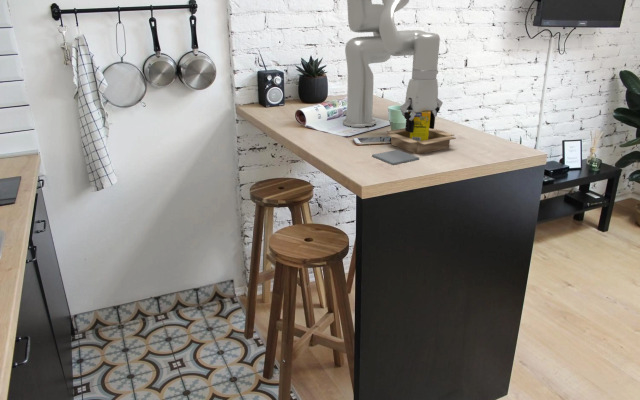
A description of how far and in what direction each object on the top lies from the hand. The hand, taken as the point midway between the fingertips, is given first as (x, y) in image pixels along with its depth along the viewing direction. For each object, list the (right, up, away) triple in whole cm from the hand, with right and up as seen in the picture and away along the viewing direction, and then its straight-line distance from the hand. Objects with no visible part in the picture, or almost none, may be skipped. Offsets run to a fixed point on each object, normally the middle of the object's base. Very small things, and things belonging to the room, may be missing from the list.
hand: (419, 129), depth 168 cm
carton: (0, -5, +2) cm, 5 cm away
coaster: (-9, -10, -10) cm, 17 cm away
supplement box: (0, -4, +2) cm, 5 cm away
